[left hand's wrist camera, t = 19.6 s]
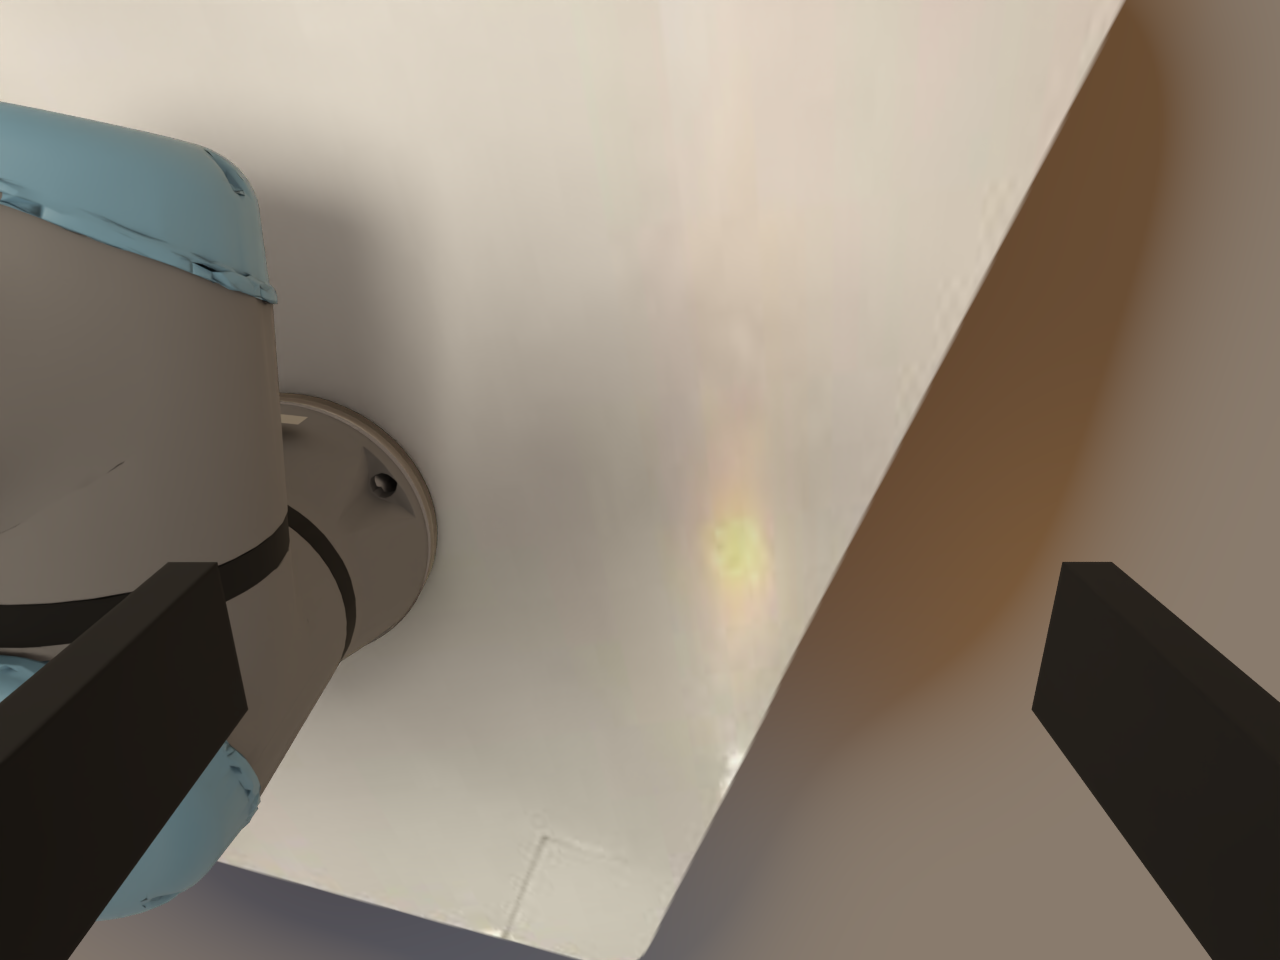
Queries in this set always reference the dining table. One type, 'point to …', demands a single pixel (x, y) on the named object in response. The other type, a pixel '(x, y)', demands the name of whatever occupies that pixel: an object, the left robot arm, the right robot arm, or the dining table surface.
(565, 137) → the dining table surface
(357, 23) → the dining table surface
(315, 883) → the dining table surface
